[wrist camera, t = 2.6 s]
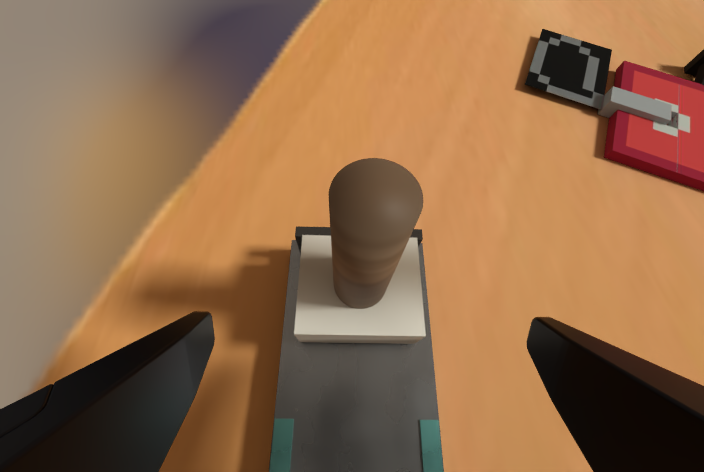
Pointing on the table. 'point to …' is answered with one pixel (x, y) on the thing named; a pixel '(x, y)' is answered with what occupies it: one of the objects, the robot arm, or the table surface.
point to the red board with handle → (631, 105)
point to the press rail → (354, 397)
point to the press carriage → (364, 261)
